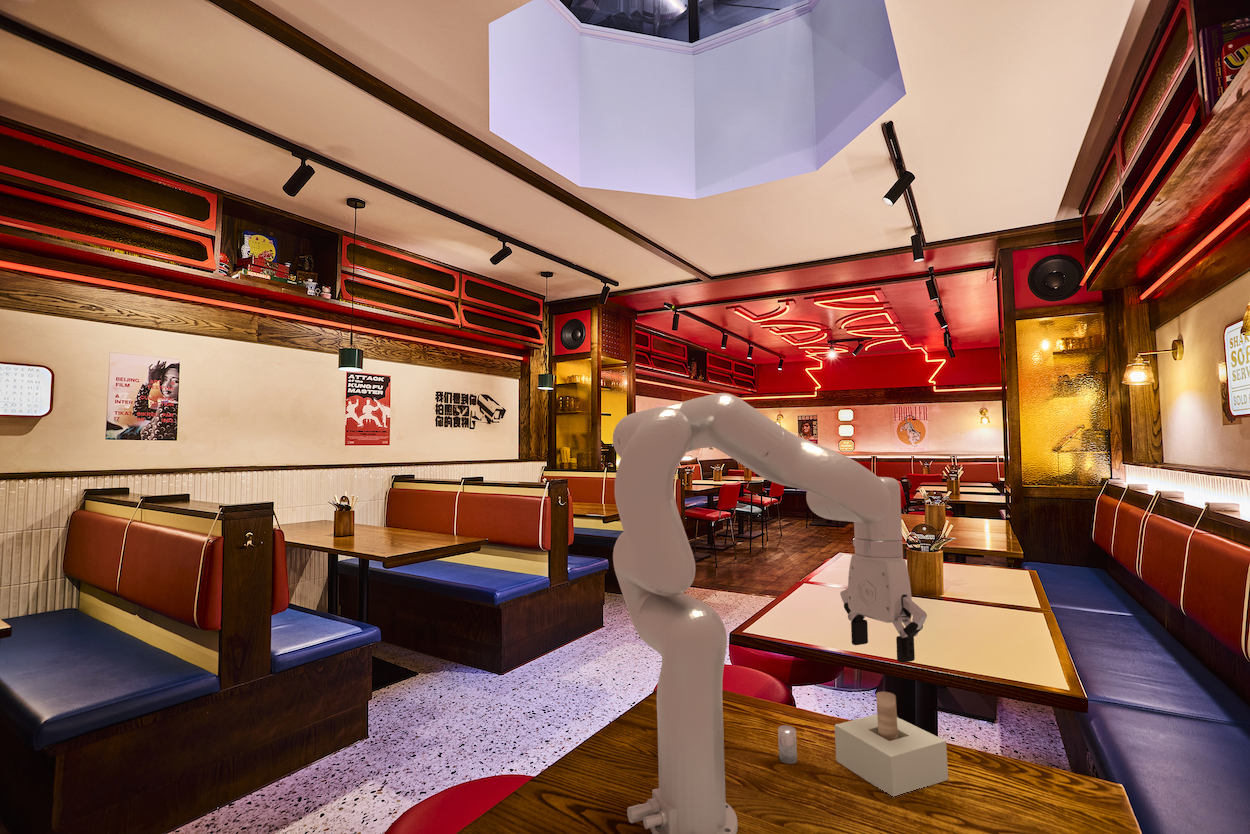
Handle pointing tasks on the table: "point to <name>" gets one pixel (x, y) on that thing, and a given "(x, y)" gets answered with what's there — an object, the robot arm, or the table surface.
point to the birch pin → (887, 715)
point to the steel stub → (787, 744)
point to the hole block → (891, 755)
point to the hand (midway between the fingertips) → (881, 652)
